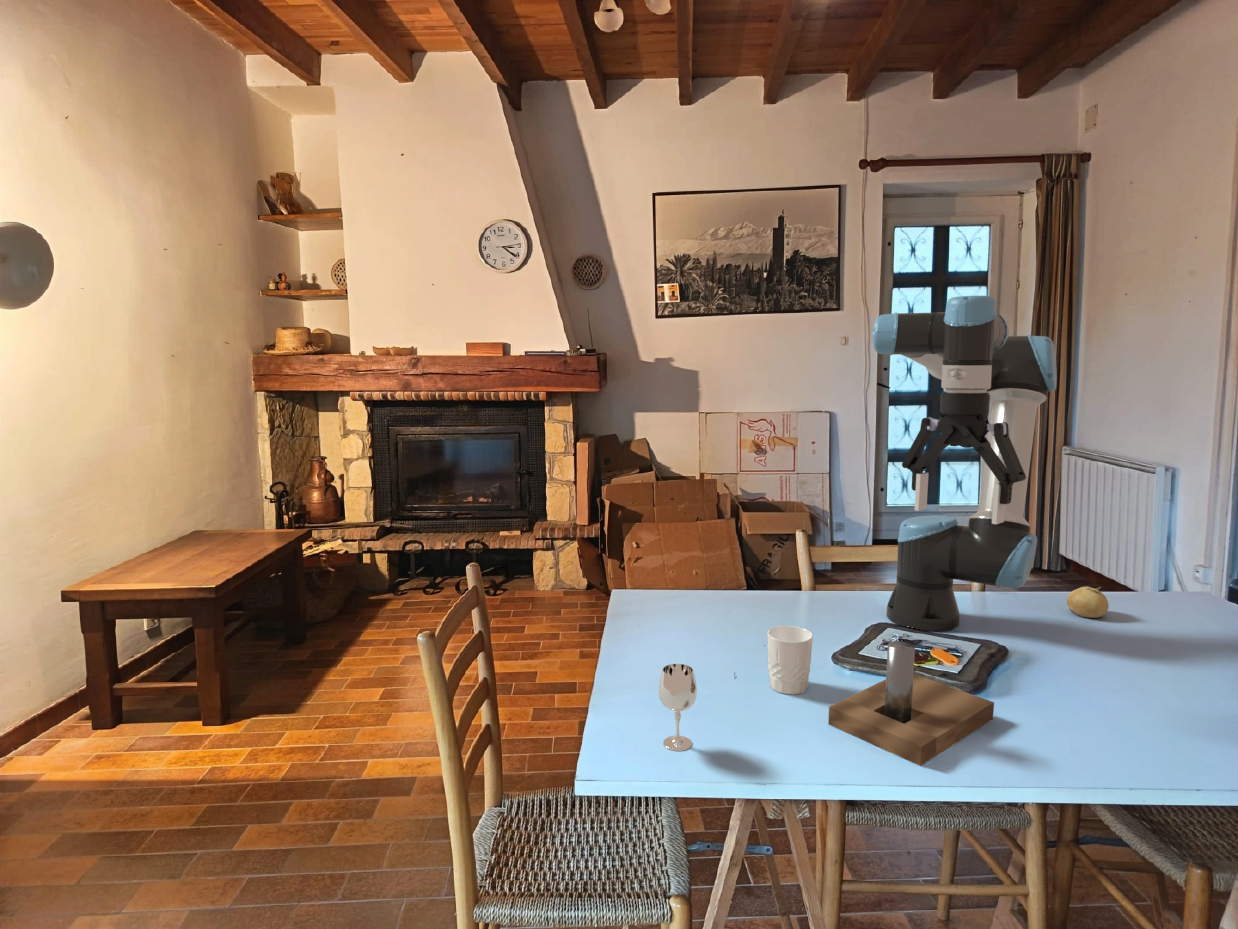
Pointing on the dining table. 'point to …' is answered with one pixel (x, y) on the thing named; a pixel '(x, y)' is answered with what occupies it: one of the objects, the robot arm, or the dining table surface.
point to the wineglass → (677, 699)
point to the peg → (899, 681)
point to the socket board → (913, 719)
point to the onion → (1087, 602)
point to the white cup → (789, 658)
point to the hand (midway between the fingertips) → (957, 516)
